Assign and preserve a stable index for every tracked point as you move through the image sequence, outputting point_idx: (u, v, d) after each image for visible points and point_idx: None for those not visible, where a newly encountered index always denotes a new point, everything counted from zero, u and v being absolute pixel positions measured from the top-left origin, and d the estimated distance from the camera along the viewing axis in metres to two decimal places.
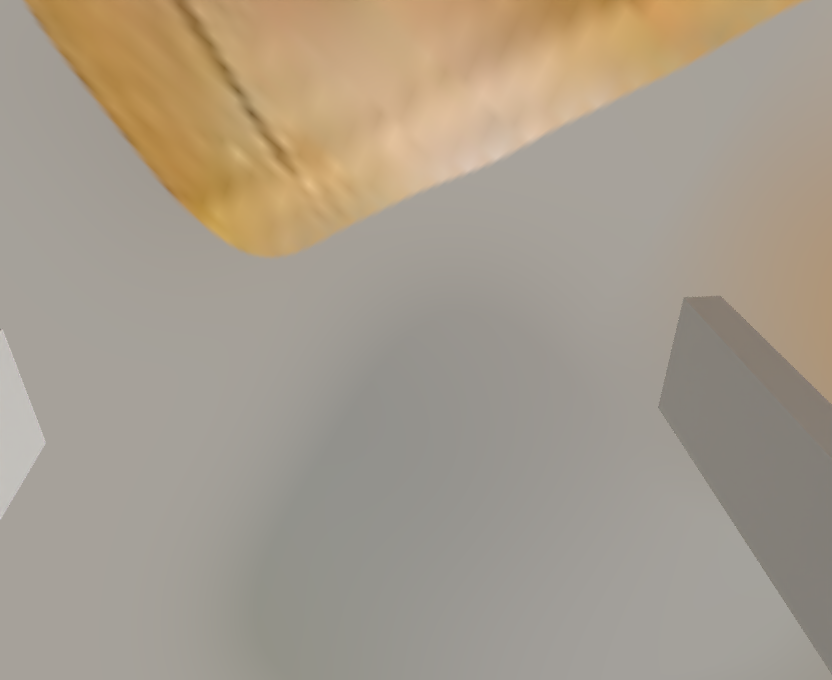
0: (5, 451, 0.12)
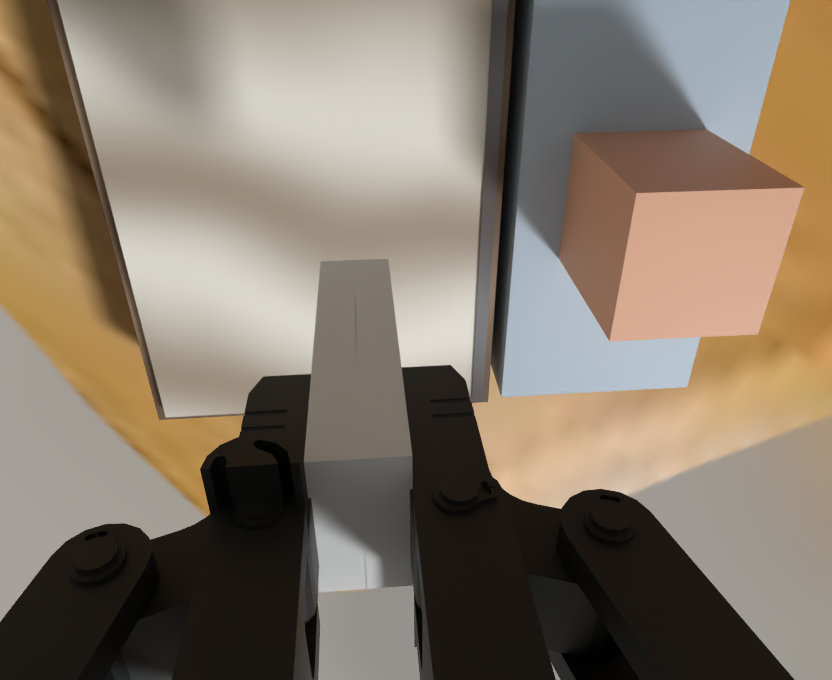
0: None
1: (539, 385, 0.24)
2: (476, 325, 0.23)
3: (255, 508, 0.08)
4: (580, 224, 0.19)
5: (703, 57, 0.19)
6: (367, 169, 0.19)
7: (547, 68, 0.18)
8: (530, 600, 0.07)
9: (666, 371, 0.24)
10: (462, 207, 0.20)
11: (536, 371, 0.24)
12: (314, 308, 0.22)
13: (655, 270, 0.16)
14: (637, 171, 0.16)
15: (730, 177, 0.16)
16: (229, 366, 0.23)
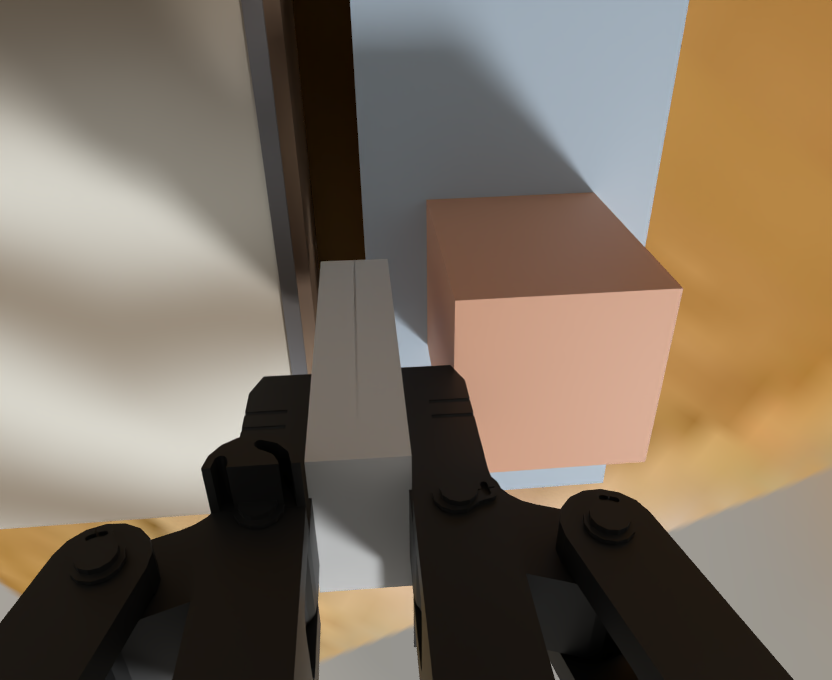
0: None
1: None
2: None
3: (256, 508, 0.08)
4: (433, 313, 0.15)
5: (579, 107, 0.15)
6: (126, 249, 0.16)
7: (381, 123, 0.15)
8: (530, 600, 0.07)
9: (576, 466, 0.20)
10: (256, 291, 0.16)
11: None
12: (95, 409, 0.18)
13: (497, 392, 0.12)
14: (476, 261, 0.13)
15: (591, 271, 0.12)
16: (4, 476, 0.19)
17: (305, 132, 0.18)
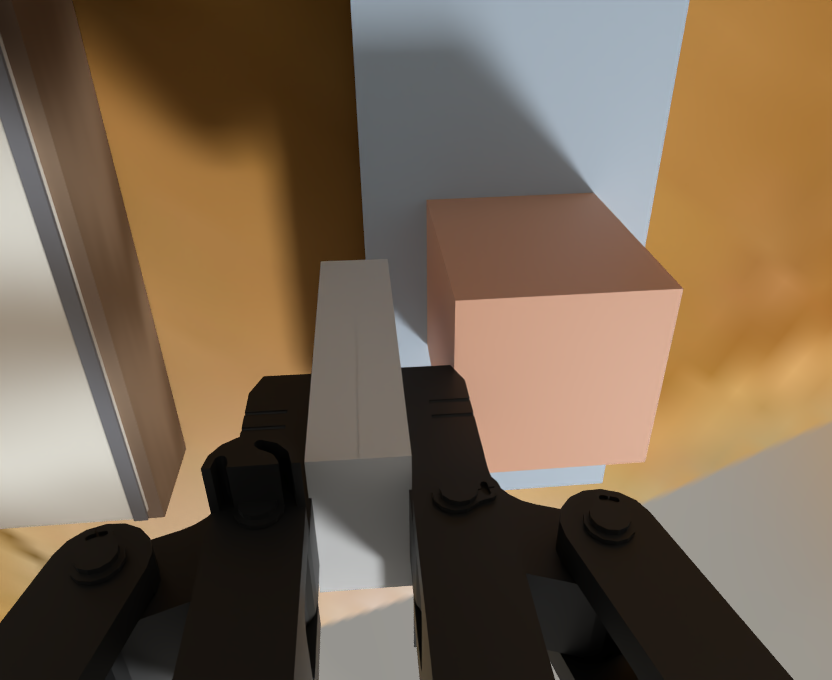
0: None
1: None
2: (107, 436, 0.18)
3: (255, 508, 0.08)
4: (433, 314, 0.15)
5: (579, 107, 0.15)
6: None
7: (381, 123, 0.15)
8: (530, 600, 0.07)
9: (575, 466, 0.20)
10: (37, 302, 0.16)
11: None
12: None
13: (498, 392, 0.12)
14: (476, 261, 0.13)
15: (591, 271, 0.12)
16: None
17: (106, 139, 0.18)
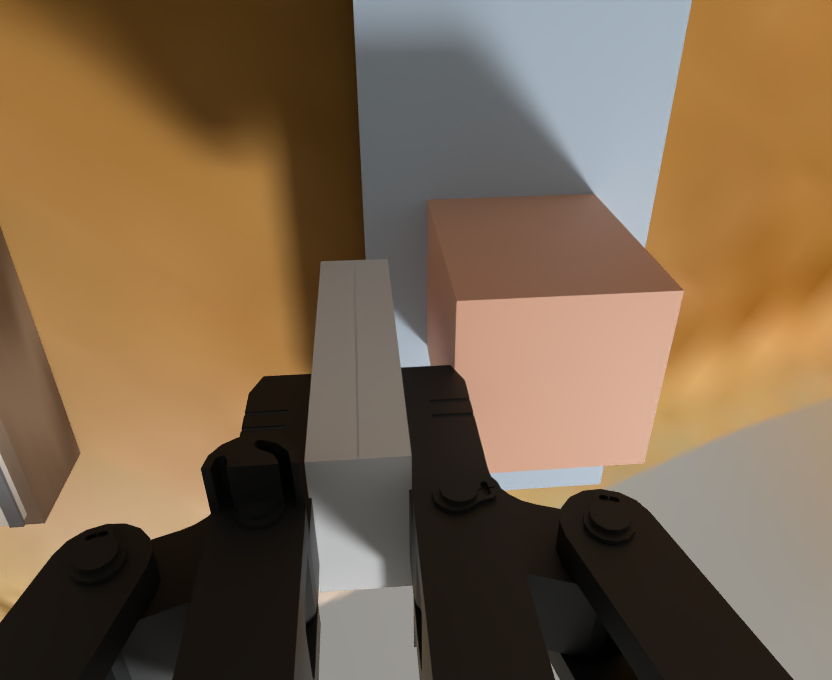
0: None
1: None
2: None
3: (256, 508, 0.08)
4: (433, 314, 0.15)
5: (581, 108, 0.15)
6: None
7: (383, 122, 0.15)
8: (529, 600, 0.07)
9: (573, 467, 0.21)
10: None
11: None
12: None
13: (498, 393, 0.12)
14: (477, 261, 0.13)
15: (592, 273, 0.12)
16: None
17: None
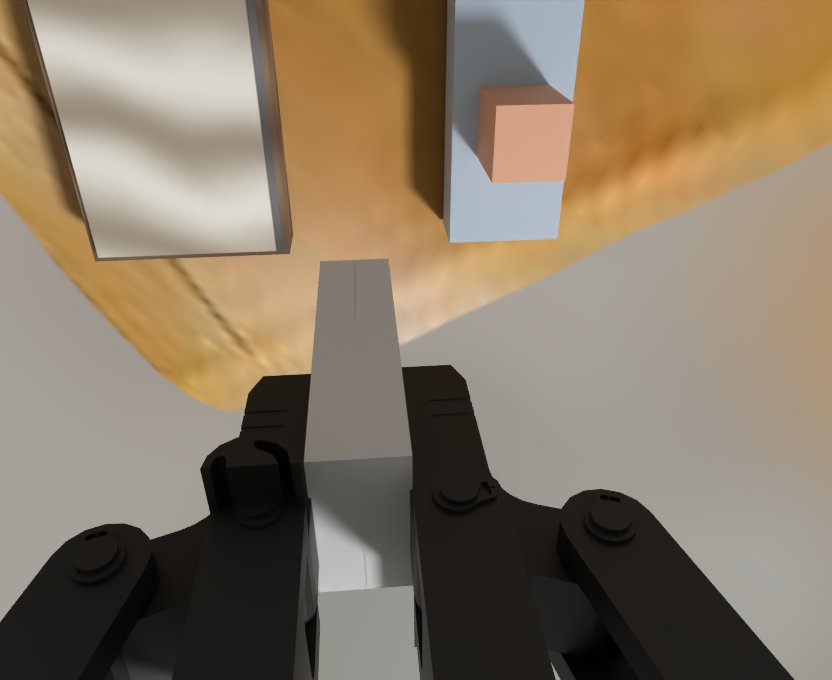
0: None
1: (471, 235, 0.42)
2: (271, 201, 0.40)
3: (255, 508, 0.08)
4: (482, 132, 0.38)
5: (542, 47, 0.37)
6: (197, 109, 0.37)
7: (463, 52, 0.37)
8: (530, 600, 0.07)
9: (543, 228, 0.43)
10: (251, 131, 0.38)
11: (468, 226, 0.42)
12: (177, 189, 0.39)
13: (510, 145, 0.35)
14: (502, 99, 0.35)
15: (543, 100, 0.34)
16: (132, 225, 0.40)
17: (274, 65, 0.40)
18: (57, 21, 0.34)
